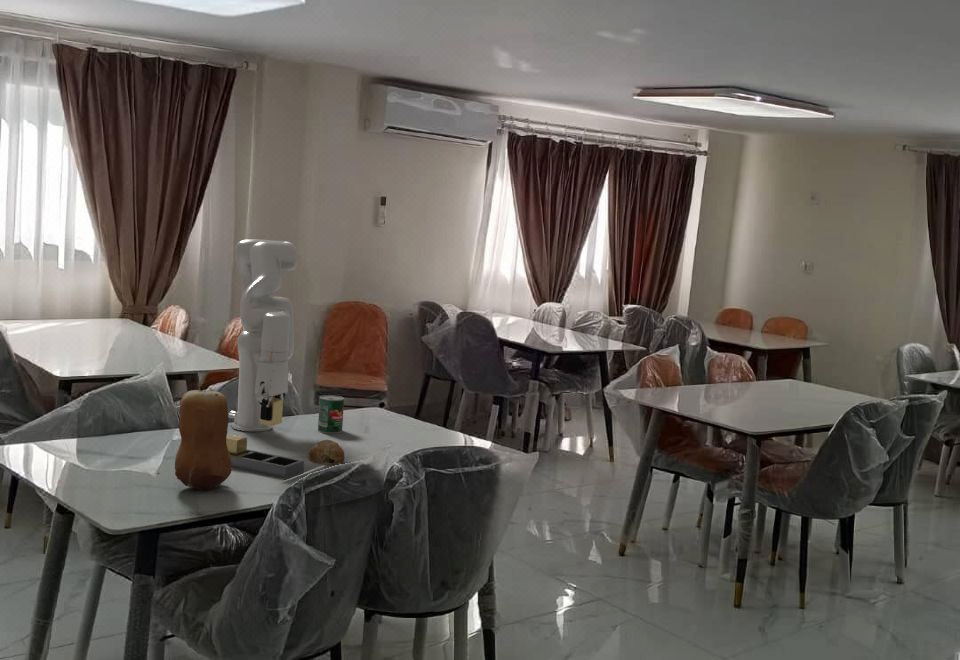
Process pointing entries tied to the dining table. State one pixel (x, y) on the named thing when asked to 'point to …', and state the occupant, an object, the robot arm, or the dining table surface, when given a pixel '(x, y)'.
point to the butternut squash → (203, 440)
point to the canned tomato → (330, 414)
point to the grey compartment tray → (268, 464)
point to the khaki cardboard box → (236, 445)
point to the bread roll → (326, 453)
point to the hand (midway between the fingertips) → (270, 417)
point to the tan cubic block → (274, 412)
